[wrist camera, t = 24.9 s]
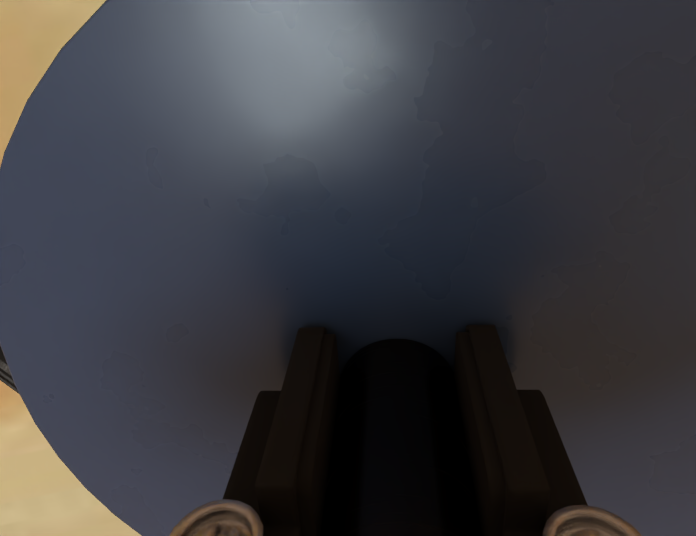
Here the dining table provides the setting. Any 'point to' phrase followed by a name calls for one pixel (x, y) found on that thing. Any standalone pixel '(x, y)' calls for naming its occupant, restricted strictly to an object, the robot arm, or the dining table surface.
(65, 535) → the dining table surface
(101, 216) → the lid
